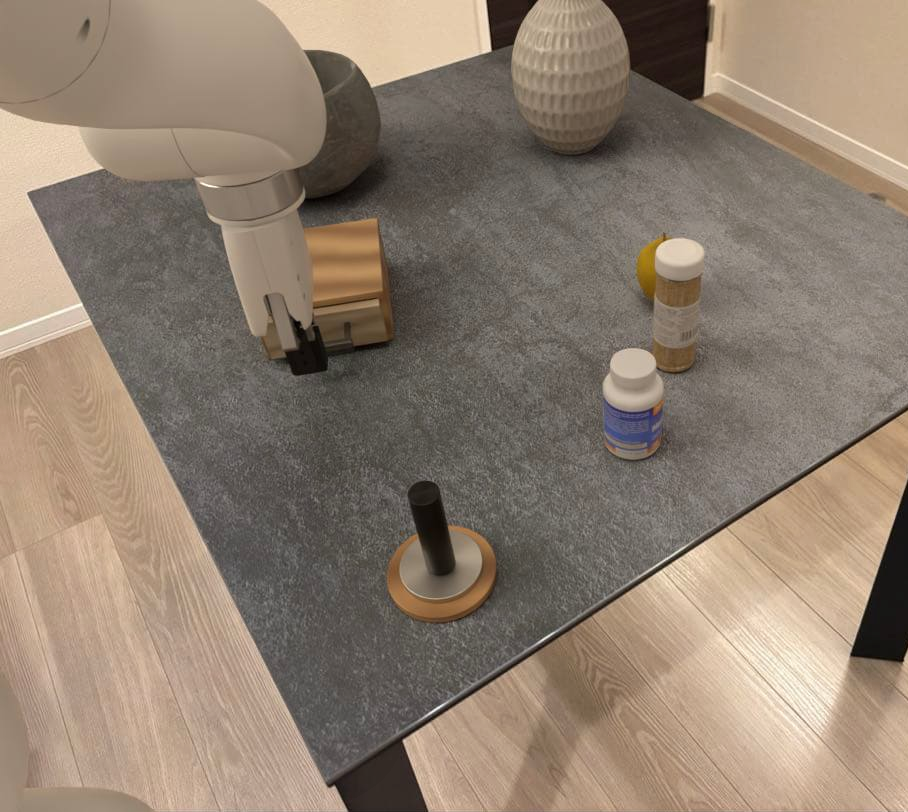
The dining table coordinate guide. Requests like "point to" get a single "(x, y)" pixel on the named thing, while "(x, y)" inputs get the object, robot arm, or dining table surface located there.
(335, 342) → the drawer
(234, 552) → the dining table surface
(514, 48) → the vase
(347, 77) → the bowl
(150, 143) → the robot arm
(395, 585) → the disc
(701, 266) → the sprinkles bottle
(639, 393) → the pill bottle
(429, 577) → the rod on disc base
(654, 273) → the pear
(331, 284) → the cabinet
